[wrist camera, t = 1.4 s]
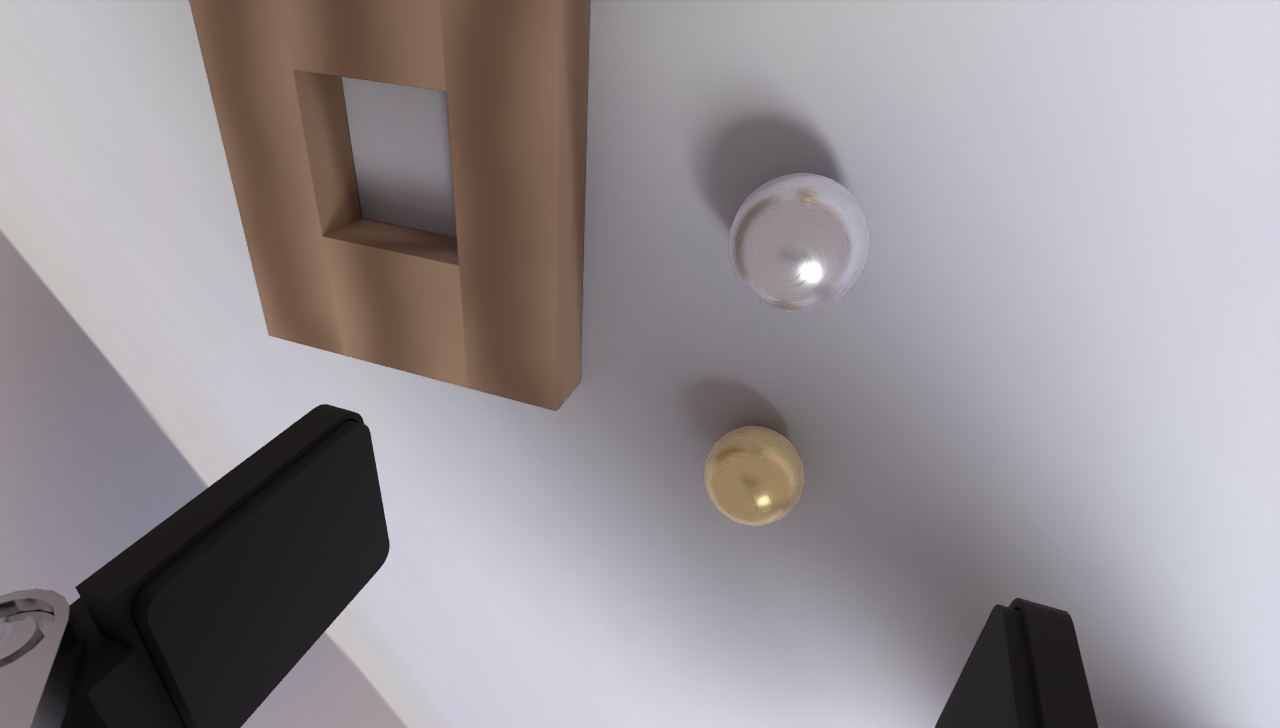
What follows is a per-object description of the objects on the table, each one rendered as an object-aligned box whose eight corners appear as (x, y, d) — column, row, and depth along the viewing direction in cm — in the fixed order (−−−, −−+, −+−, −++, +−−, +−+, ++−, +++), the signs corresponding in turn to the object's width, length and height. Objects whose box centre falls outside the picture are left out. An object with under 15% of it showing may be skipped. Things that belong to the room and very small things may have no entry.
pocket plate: (592, -95, 22) (559, -101, 20) (580, 382, 31) (556, 411, 29) (219, -118, 26) (159, -126, 24) (306, 314, 35) (268, 335, 33)
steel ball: (888, 169, 23) (882, 208, 19) (857, 293, 25) (846, 349, 21) (754, 149, 24) (724, 182, 20) (736, 270, 26) (706, 319, 23)
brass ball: (819, 420, 28) (805, 480, 25) (800, 495, 30) (786, 559, 27) (723, 397, 29) (698, 452, 26) (711, 471, 31) (687, 530, 28)
